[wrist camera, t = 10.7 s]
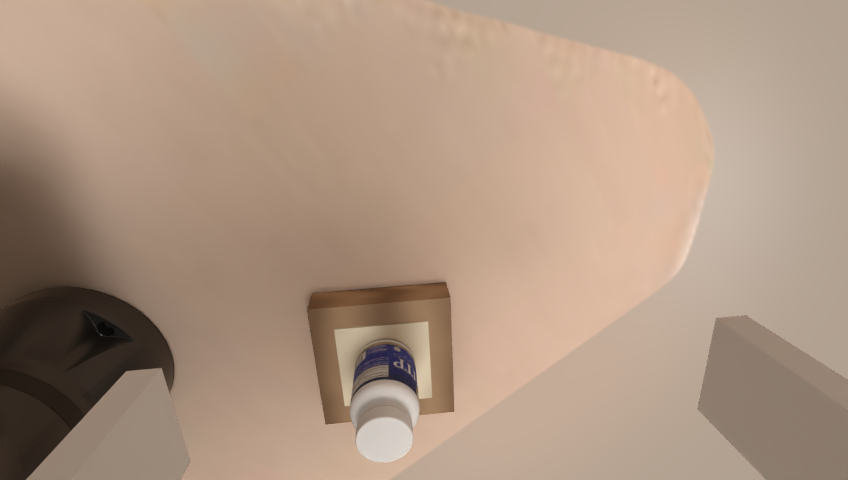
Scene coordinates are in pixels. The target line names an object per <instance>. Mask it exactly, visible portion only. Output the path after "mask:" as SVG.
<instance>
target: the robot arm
mask: <svg viewBox="0 0 848 480" xmlns="http://www.w3.org/2000/svg"><path fill="white" fill-rule="evenodd" d="M173 378H174V366H173V360H172V356H171V353H170V350H169V348H168V346H167V344H166V342H165V340H164V338H163V337H162V335H161V334H160V333H159V331H158V330H157V329H156V328H155V326H154V325H153V324H152V323H151V322H150V321H149V320H148V319H147V318H146V317H144V316H143V315H142V314H141V313H139V312H138V311H137V310H135V309H134V308H132V307H131V306H129V305H127V304H126V303H124V302H122V301H120V300H118V299H116V298H113V297H111V296H108V295H105V294H102V293H99V292H95V291H91V290H86V289H80V288H51V289H45V290H41V291H37V292H34V293H31V294H28V295H26V296H24V297H22V298H20V299H18V300H17V301H15V302H13V303H11V304H10V305H8V306H6V307H4V308H3V309H1V310H0V480H181V478H182V476H183V474H184V472H185V470H186V468H187V467H188V465H189V463H190V459H189V455H188V452H187V449H186V446H185V442H184V439H183V436H182V433H181V429H180V426H179V423H178V420H177V416H176V413H175V410H174V407H173V403H172V400H171V397H170V394H169V393H170V390H171V387H172V383H173ZM698 410H699V411H700V412H701V413H702V414H703V415H704V416H705V417H706V418H707V419H708V420H709V422H710V423H711V424H713V426H714V427H715V428H716V429H717V430H718V431H719V432H720V433H721V434H722V435H723V436H724V437H725V438H726V439H727V440H728V441H729V442H730V443H731V444H732V445H733V446H734V447H735V448H736V449H737V450H738V451H739V452H740V453H741V455H742V456H743V457H744V458H745V459H746V460H747V461H748V462H749V463H750V464H751V465H752V466H753V467H754V468H755V469H756V470H757V471H758V472H759V473H760V474H761V475H762V476H763V477H764V478H765V479H766V480H848V379H846V378H844V377H843V376H841V375H840V374H838V373H836V372H835V371H833V370H832V369H830V368H828V367H827V366H825V365H824V364H822V363H820V362H819V361H817V360H816V359H814V358H813V357H811V356H809V355H808V354H806V353H804V352H803V351H801V350H800V349H798V348H797V347H795V346H794V345H792V344H791V343H789V342H787V341H786V340H784V339H783V338H781V337H779V336H778V335H776V334H775V333H773V332H771V331H770V330H768V329H767V328H765V327H764V326H762V325H760V324H759V323H757V322H756V321H754V320H752V319H751V318H749V317H748V316H746V315H745V316H734V317H722V318H716V321H715V326H714V331H713V335H712V340H711V346H710V350H709V355H708V360H707V366H706V370H705V375H704V379H703V384H702V389H701V394H700V399H699V404H698Z"/></svg>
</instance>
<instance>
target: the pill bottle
mask: <svg viewBox="0 0 848 480" xmlns="http://www.w3.org/2000/svg"><path fill="white" fill-rule="evenodd" d="M419 411H420V406H419V395H418V384H417V375H416V365H415V359H414V356H413V354H412V352H411V351H410V350H409V349H408V348H407V347H406V346H405V345H403V344H402V343H400V342H397V341H394V340H378V341H375V342H372V343H370V344H368V345H367V346H365V347H364V348H363V349H362V350H361V352H360V353H359V355H358V357H357V359H356V363H355V371H354V380H353V388H352V395H351V403H350V417H351V421H352V424H353V426H354V427H355V429H356V446H357V448H358V450H359V452H360V453H361V454H362V455H363V456H364V457H366V458H367V459H369V460H371V461H375V462H382V463H385V462H391V461H395V460H397V459H399V458H401V457H403V456H404V455H405V454H406V453H407V452H408V451H409V450H410V448H411V446H412V443H413V428H414V426H415V425H416V423H417V421H418V417H419Z"/></svg>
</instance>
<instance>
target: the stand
mask: <svg viewBox="0 0 848 480" xmlns="http://www.w3.org/2000/svg"><path fill="white" fill-rule="evenodd" d="M307 312H308V319H309V325H310V331H311V337H312V343H313V349H314V356H315V362H316V368H317V374H318V380H319V386H320V393H321V399H322V405H323V411H324V417H325V423H326V424H334V423H344V422H352V421H351V417H350V403H351V395H352V388H353V380H354V371H355V363H356V359H357V357H358V355H359V353H360V352H361V350H362V349H363V348H364V347H365V346H367V345H368V344H370V343H372V342H375V341H378V340H394V341H397V342H400V343H402V344H403V345H405V346H406V347H407V348H408V349H409V350H410V351H411V352H412V354H413V356H414V359H415V365H416V375H417V384H418V395H419V406H420V411H419V415H425V414H435V413H445V412H454V392H453V363H452V333H451V303H450V295H449V292H448V288H447V285H446V283H434V284H422V285H410V286H398V287H385V288H373V289H361V290H349V291H336V292H324V293H313V295H312V297H311V300H310V303H309V306H308V308H307Z"/></svg>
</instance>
